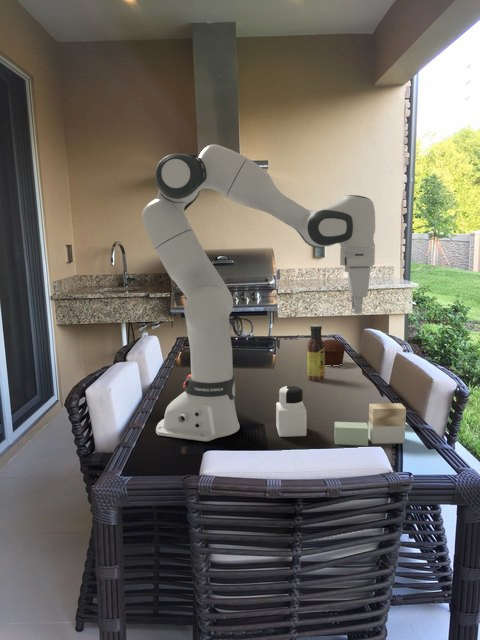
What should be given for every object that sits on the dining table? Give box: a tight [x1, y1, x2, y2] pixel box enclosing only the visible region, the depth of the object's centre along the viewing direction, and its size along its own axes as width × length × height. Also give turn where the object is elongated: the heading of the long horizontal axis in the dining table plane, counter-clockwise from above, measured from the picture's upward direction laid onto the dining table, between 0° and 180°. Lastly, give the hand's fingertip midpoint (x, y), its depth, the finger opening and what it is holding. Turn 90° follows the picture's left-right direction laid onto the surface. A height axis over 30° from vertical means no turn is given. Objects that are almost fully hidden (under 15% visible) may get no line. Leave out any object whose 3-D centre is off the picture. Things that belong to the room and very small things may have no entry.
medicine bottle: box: [275, 385, 308, 438], centre depth 131 cm, size 7×7×12 cm
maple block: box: [368, 402, 407, 427], centre depth 124 cm, size 8×4×4 cm, turn 90°
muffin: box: [322, 338, 347, 366], centre depth 203 cm, size 12×11×10 cm
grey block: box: [367, 421, 406, 445], centre depth 125 cm, size 8×4×4 cm, turn 89°
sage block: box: [333, 421, 369, 447], centre depth 124 cm, size 8×4×4 cm, turn 81°
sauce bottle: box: [306, 324, 326, 382], centre depth 180 cm, size 7×6×20 cm
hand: (356, 310), depth 133 cm, fingers open, 8 cm apart
